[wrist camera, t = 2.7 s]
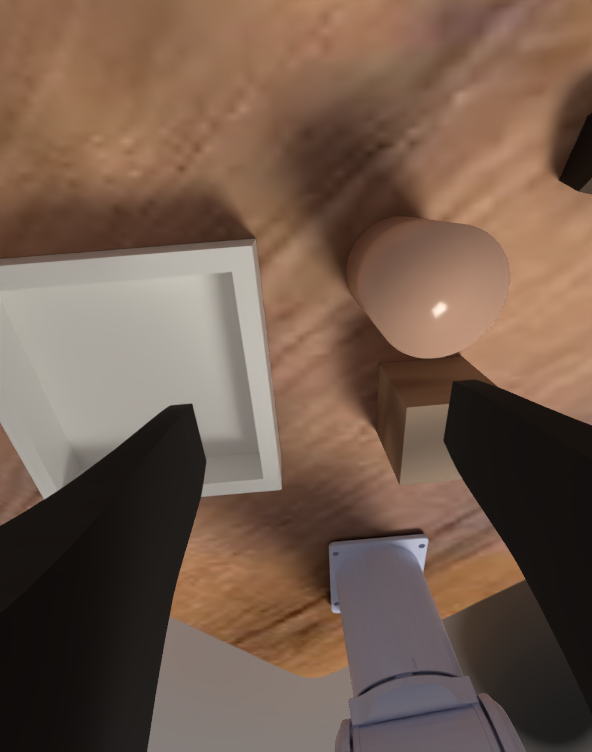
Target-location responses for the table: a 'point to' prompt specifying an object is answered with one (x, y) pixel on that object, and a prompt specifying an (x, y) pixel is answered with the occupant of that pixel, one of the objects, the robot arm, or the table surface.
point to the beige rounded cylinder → (428, 283)
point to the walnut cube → (419, 415)
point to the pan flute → (580, 161)
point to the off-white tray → (138, 358)
